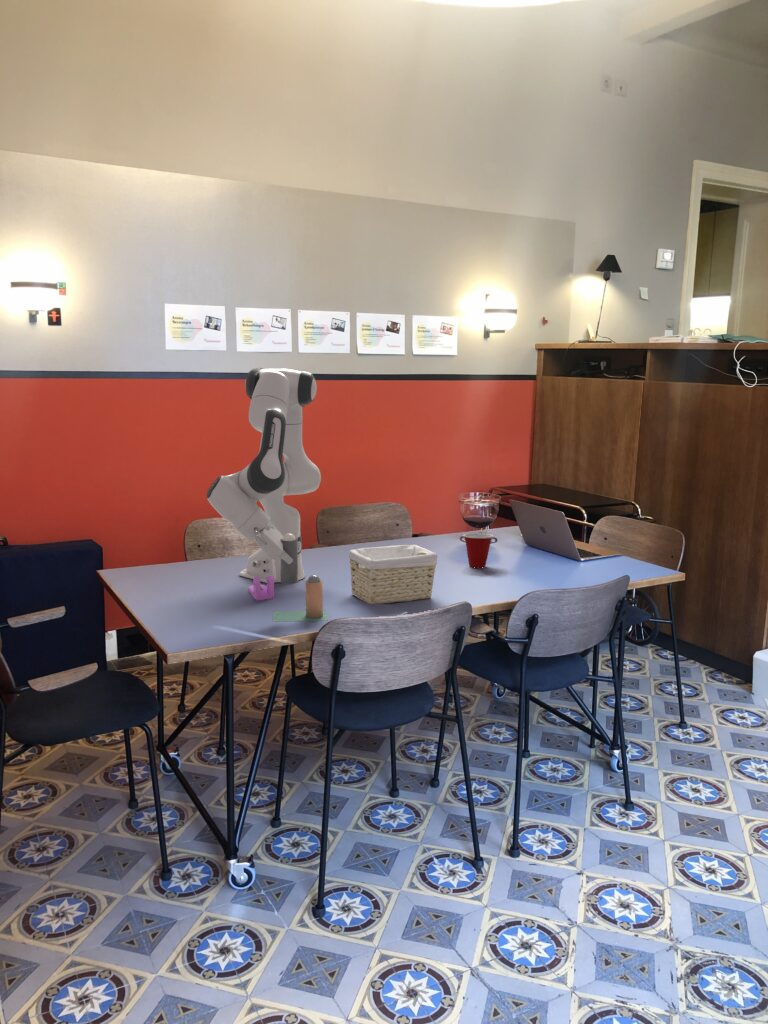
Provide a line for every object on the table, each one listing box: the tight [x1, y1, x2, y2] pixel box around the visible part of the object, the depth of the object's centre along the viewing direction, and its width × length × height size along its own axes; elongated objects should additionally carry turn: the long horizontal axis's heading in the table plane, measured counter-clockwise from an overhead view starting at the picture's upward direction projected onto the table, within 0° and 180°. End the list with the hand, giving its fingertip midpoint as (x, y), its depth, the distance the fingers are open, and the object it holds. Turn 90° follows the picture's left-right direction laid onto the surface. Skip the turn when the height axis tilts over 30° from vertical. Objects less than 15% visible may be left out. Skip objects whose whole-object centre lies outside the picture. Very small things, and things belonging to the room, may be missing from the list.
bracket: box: [248, 576, 275, 601], centre depth 246 cm, size 13×6×7 cm, turn 21°
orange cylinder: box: [304, 574, 324, 618], centre depth 222 cm, size 5×5×12 cm
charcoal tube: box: [280, 533, 299, 585], centre depth 219 cm, size 5×5×14 cm
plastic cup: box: [463, 532, 494, 569], centre depth 283 cm, size 11×11×12 cm
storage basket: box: [348, 544, 438, 605], centre depth 244 cm, size 24×16×15 cm
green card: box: [272, 610, 328, 623], centre depth 222 cm, size 15×9×1 cm, turn 97°
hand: (291, 559), depth 219 cm, fingers closed on charcoal tube, 5 cm apart
